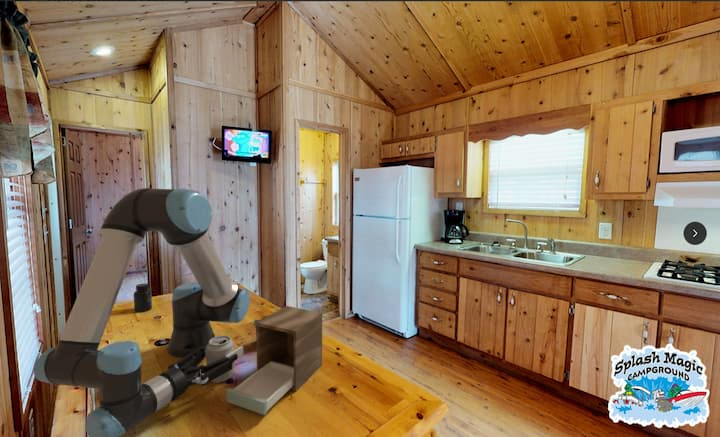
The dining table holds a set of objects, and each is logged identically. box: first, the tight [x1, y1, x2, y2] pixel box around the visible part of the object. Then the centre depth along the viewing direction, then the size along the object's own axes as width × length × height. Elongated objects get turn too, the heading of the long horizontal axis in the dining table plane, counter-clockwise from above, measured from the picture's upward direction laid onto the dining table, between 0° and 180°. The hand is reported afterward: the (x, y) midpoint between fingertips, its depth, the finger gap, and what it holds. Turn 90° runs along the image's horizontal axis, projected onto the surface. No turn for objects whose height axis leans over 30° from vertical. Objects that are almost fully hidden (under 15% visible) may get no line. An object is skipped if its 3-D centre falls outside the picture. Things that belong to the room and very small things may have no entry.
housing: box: [256, 305, 323, 392], centre depth 99 cm, size 14×15×18 cm
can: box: [206, 335, 235, 384], centre depth 96 cm, size 8×8×12 cm
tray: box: [226, 361, 294, 416], centre depth 89 cm, size 12×18×3 cm
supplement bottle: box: [133, 283, 153, 313], centre depth 147 cm, size 7×7×12 cm
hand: (232, 347), depth 101 cm, fingers closed on can, 7 cm apart
